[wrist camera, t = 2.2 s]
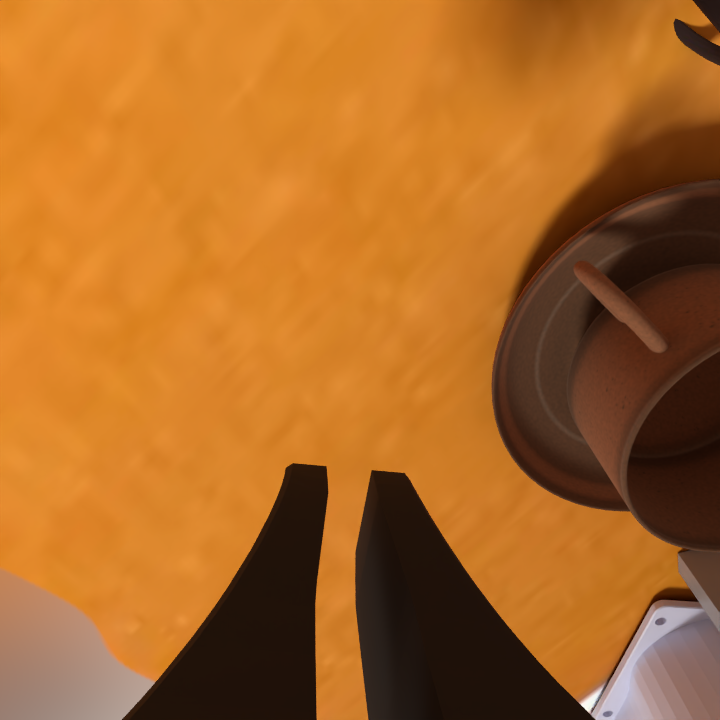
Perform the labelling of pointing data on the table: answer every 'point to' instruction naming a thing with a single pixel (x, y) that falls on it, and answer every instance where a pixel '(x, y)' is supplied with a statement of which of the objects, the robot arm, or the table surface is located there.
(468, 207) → the table surface
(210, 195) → the table surface
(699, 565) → the bent grey bar frame
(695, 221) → the cup and saucer
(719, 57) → the eyeglasses
